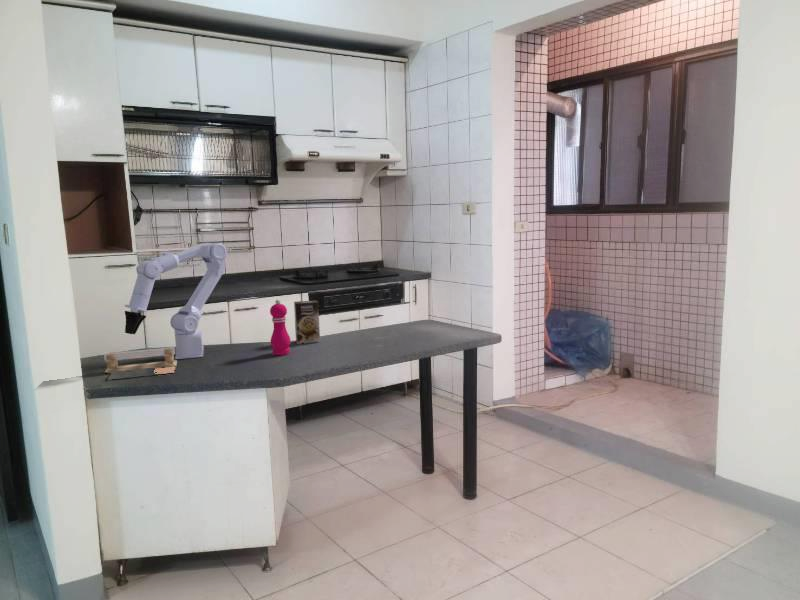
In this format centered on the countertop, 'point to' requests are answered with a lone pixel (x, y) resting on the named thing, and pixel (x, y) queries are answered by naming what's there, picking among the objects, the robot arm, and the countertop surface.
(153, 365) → the wooden post frame
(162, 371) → the terracotta mat
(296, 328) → the coffee box
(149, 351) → the steel rail
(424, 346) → the countertop surface
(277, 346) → the pepper mill
